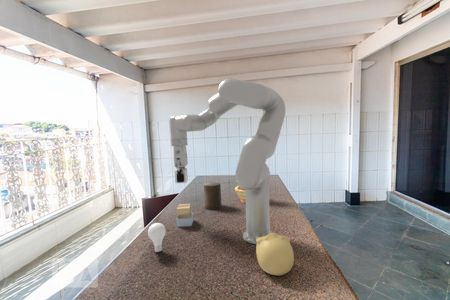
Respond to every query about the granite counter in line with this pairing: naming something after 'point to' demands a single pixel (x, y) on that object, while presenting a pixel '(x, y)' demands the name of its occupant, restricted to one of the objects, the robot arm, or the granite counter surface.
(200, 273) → the granite counter surface
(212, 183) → the pillar candle
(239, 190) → the potted cactus
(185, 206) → the tower mid
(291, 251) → the pale yellow rounded piece
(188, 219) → the tower base
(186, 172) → the white block
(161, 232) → the lightbulb
